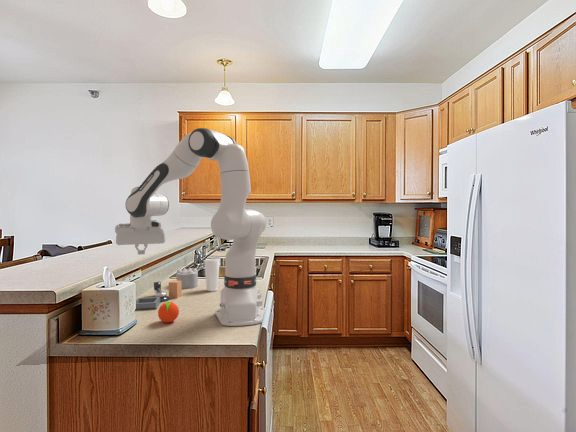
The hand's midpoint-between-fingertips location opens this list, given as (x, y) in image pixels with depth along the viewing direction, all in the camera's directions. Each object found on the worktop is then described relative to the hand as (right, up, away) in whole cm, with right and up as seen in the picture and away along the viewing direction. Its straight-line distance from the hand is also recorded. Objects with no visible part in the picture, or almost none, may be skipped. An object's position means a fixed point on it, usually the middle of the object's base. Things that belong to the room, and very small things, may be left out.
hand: (141, 254), depth 154 cm
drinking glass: (+29, -19, +12) cm, 37 cm away
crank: (+9, -18, -2) cm, 20 cm away
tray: (+8, -19, -15) cm, 26 cm away
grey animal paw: (+14, -19, +23) cm, 33 cm away
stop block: (+15, -19, 0) cm, 24 cm away
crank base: (+11, -19, -5) cm, 22 cm away
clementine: (+24, -20, -34) cm, 46 cm away
